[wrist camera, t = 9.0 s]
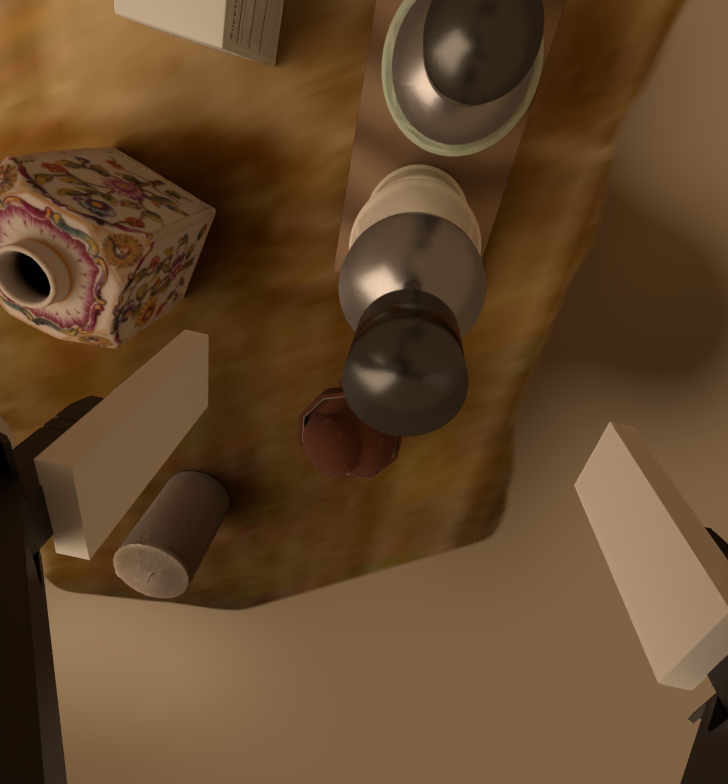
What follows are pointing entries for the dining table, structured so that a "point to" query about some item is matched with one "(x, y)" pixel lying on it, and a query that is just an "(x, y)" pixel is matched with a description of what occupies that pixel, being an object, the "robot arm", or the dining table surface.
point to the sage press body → (420, 138)
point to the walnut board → (394, 150)
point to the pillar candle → (173, 535)
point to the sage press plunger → (465, 65)
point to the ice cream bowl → (343, 439)
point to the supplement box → (214, 23)
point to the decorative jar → (94, 243)
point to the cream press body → (418, 200)
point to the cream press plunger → (409, 321)
